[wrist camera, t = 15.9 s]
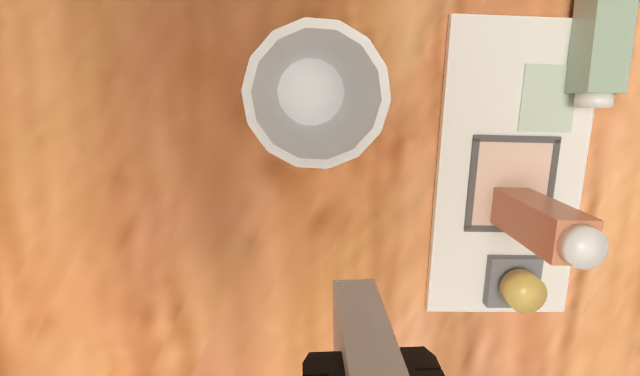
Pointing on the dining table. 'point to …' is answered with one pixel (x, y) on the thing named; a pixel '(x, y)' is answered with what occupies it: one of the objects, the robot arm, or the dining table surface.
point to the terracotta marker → (549, 227)
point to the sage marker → (600, 51)
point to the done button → (523, 291)
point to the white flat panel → (501, 154)
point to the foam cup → (316, 93)
